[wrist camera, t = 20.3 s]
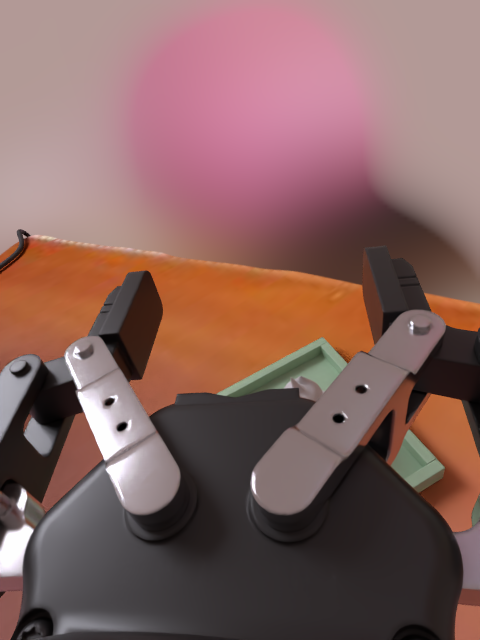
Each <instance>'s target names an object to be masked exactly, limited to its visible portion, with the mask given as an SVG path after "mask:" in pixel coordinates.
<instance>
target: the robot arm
mask: <svg viewBox="0 0 480 640" xmlns="http://www.w3.org/2000/svg"><path fill="white" fill-rule="evenodd" d="M22 234H23V235H25V236H26V237H29V236H31V235H30V234H29V233H27V232H26V231H24V230H21V229H20V230H18V231H17V235H18V238H19V247H18V248H17V250H16V251H15V252H14V253H13V254H12V255H11V256H10V257H8V258H7V259H6V260H4V261H3V262H2V263H0V269H2V268H3V267H4V266H6V265H7V264H8V263H10V262H11V261H12V260H14V259H15V258H16V257H17V256H18V255H19V254H20V253H21V251H22V250H23V248H24V239H23V235H22ZM363 297H364V302H365V306H366V310H367V315H368V319H369V323H370V327H371V331H372V336H373V340H374V344H375V346H374V347H373V348H372V349H371V350H370V352H369V353H366V352H363V351H360V352H358V353H357V354H356V355H355V356H354V357H353V358H352V360H351V361H350V362H349V363H348V364H347V366H346V367H345V368H344V369H343V370H342V372H341V373H340V374H339V375H338V376H337V378H336V379H335V380H334V381H333V382H332V384H331V385H330V386H329V387H328V388H327V389H326V391H325V392H324V393H323V394H322V395H321V397H320V398H319V399H318V400H317V401H314V400H310V399H307V398H302V397H300V393H299V388H283V389H267V390H263V391H259V392H256V393H252V394H248V395H244V396H240V397H229V396H223V395H217V394H212V393H187V394H177V397H176V401H175V404H172V405H169V406H167V407H164V408H162V409H160V410H158V411H157V412H155V413H153V414H152V415H151V416H149V417H148V415H147V413H146V411H145V410H144V408H143V406H142V405H141V403H140V401H139V400H138V398H137V396H136V395H135V393H134V391H133V389H132V388H131V386H130V384H129V382H130V380H141V379H142V377H143V374H144V371H145V368H146V365H147V362H148V359H149V356H150V353H151V350H152V347H153V344H154V341H155V338H156V334H157V331H158V328H159V325H160V322H161V319H162V315H163V307H162V302H161V299H160V297H159V294H158V292H157V289H156V286H155V284H154V281H153V278H152V276H151V274H150V272H149V271H139V272H130V273H128V274H127V276H126V278H125V280H124V282H123V284H122V286H117V287H116V288H115V289H114V290H113V291H112V292H111V293H110V294H109V295H108V297H107V299H106V301H105V303H104V306H103V307H102V309H101V311H100V314H99V315H98V316H97V318H96V320H95V322H94V324H93V326H92V328H91V330H90V332H89V334H88V336H87V337H83V338H81V339H79V340H77V341H75V342H74V343H72V344H71V345H70V346H69V347H68V348H67V350H66V351H65V354H64V357H61V358H58V359H55V360H51V361H48V362H45V363H43V361H42V360H41V359H40V357H39V356H37V355H35V354H28V355H23V356H21V357H18V358H16V359H14V360H13V361H11V362H10V363H9V364H8V365H6V366H5V368H4V369H3V370H2V372H1V373H0V597H1V596H2V595H3V594H4V593H5V592H6V591H23V596H22V604H21V610H20V615H19V620H18V623H17V626H16V629H15V631H14V634H13V636H12V638H11V639H10V640H455V617H456V610H457V605H458V604H462V605H472V606H480V494H479V496H478V499H477V501H476V503H475V506H474V508H473V511H472V517H471V518H472V528H470V529H468V530H466V531H462V532H452V530H451V528H450V527H449V525H448V523H447V522H446V521H445V519H444V518H443V517H442V516H441V514H440V513H439V512H438V511H437V510H436V509H435V508H434V507H433V506H432V505H431V504H430V503H428V502H427V501H426V500H425V499H424V498H423V497H422V496H421V495H420V494H419V493H418V492H417V491H416V490H415V489H414V488H413V487H412V486H411V485H410V484H409V483H408V482H407V481H406V480H404V479H403V478H402V477H401V476H400V475H399V474H398V473H397V472H396V471H395V470H394V469H393V468H392V467H391V464H392V463H393V461H394V459H395V458H396V456H397V454H398V452H399V450H400V448H401V445H402V442H403V440H404V437H405V435H406V433H407V431H408V430H409V428H410V427H411V425H412V423H413V422H414V420H415V419H416V417H417V416H418V414H419V413H420V411H421V409H422V408H423V406H424V405H425V403H426V402H427V400H428V398H429V397H430V395H431V394H436V395H441V396H446V397H450V398H455V399H460V400H462V403H463V406H464V409H465V413H466V416H467V419H468V422H469V425H470V428H471V431H472V434H473V437H474V441H475V444H476V447H477V450H478V453H479V456H480V328H479V330H478V332H475V331H468V330H461V329H456V328H452V327H449V326H447V325H445V322H444V321H443V319H442V318H441V317H440V316H438V315H437V314H435V313H433V312H431V309H430V307H429V304H428V302H427V300H426V297H425V295H424V292H423V290H422V288H421V286H420V283H419V281H418V278H417V277H416V273H415V271H414V269H413V266H412V265H411V264H409V263H408V262H407V261H405V260H404V259H403V258H399V259H391V258H390V255H389V252H388V249H387V247H386V246H378V247H368V248H364V251H363ZM82 412H84V413H85V415H86V418H87V420H88V422H89V425H90V427H91V430H92V432H93V434H94V437H95V439H96V441H97V444H98V446H99V448H100V451H101V453H102V455H103V458H104V459H103V460H102V461H101V462H100V463H99V464H98V465H96V466H95V467H94V468H93V469H92V470H91V471H90V472H89V473H88V474H87V475H86V476H85V477H84V478H83V479H82V480H80V481H79V482H78V483H77V484H76V485H75V486H74V487H73V488H72V489H71V490H70V491H69V492H68V493H67V494H66V495H64V496H63V497H62V498H61V499H60V500H59V501H58V502H57V503H56V504H55V505H54V506H53V507H52V508H51V509H50V510H49V511H48V512H47V513H46V514H45V510H44V507H43V505H42V504H41V503H42V501H43V498H44V495H45V493H46V490H47V488H48V485H49V482H50V480H51V477H52V474H53V472H54V469H55V467H56V464H57V461H58V459H59V456H60V453H61V451H62V448H63V446H64V443H65V440H66V438H67V435H68V432H69V430H70V427H71V425H72V422H73V419H74V417H75V415H76V414H79V413H82ZM28 414H30V415H31V416H32V417H31V419H30V421H29V424H28V426H27V428H26V430H25V432H23V427H24V423H25V421H26V419H27V417H28Z"/></svg>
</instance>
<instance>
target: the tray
mask: <svg viewBox="0 0 480 640" xmlns="http://www.w3.org/2000/svg"><path fill="white" fill-rule="evenodd" d="M347 364H348V363H347V362H346V361H345V360H344V359H343V358H342V357H341V356H340V355H339V354H338V353H337V352H336V351H335V350H334V349H333V347H332V346H331V345H330V344H329V343H328V342H327V341H326V340H325V339H324V338H323V337H322V338H320V339H318V340H316V341H314V342H312V343H310V344H309V345H307V346H305V347H303V348H301V349H299V350H297V351H296V352H294V353H292V354H290V355H288V356H286V357H284V358H282V359H281V360H279V361H277V362H275V363H273V364H271V365H269V366H268V367H266V368H264V369H262V370H260V371H258V372H256V373H254V374H253V375H251V376H249V377H247V378H245V379H243V380H241V381H240V382H238V383H236V384H234V385H232V386H230V387H228V388H226V389H225V390H223V391H221V392H219V393H217V395H223V396H229V397H240V396H244V395H248V394H252V393H256V392H259V391H263V390H267V389H283V388H285V386H286V385H287V384H288V383H289V382H290V381H291V377H292V378H293V379H296V378H298V377H299V376H303V377H305V378H307V379H310V380H312V381H314V382H315V383H316V384H318V385H319V387H320V388H321V390H322V391H326V389H327V388H328V387H329V386H330V385H331V384H332V382H333V381H334V380H335V379H336V378H337V376H338V375H339V374H340V373H341V372H342V370H343V369H344V368H345V367H346V366H347ZM391 467H392V468H393V469H394V470H395V471H396V472H397V473H398V474H399V475H400V476H401V477H402V478H403V479H404V480H406V481H407V482H408V483H409V484H410V485H411V486H412V487H413V488H414V489H415V490H416V491H417V492H418V493H419V492H421V491H423V490H424V489H426V488H427V487H429V486H430V485H432V484H434V483H435V482H437V481H438V480H440V479H441V478H443V474H444V470H445V467H444V466H443V465H442V464H441V463H440V462H439V461H438V460H437V459H436V457H435V456H434V455H433V454H432V453H431V452H430V451H429V450H428V449H427V448H426V447H425V446H424V445H423V443H422V442H421V441H420V440H419V439H418V438H417V437H416V436H415V435H414V434H413V433H412V432H411V431H410V430H408V431H407V433H406V435H405V437H404V440H403V442H402V445H401V448H400V450H399V452H398V454H397V456H396V458H395V459H394V461H393V463H392V464H391Z"/></svg>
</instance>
